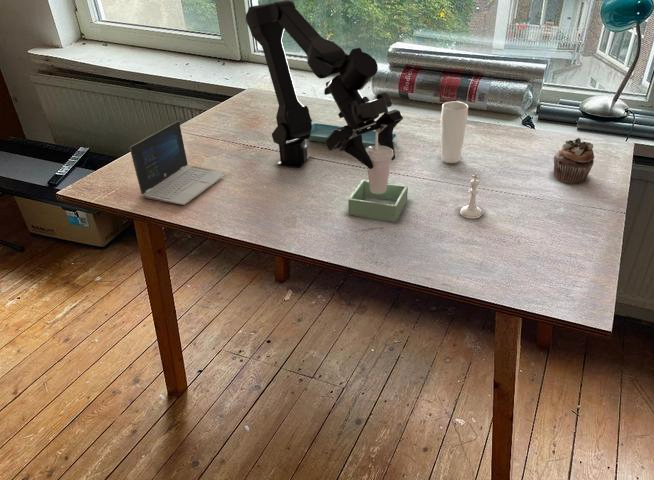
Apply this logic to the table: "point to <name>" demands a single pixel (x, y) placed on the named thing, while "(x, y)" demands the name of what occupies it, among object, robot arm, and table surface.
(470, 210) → the chess piece
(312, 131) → the shallow long dish
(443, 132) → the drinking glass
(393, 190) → the green open tray
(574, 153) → the cupcake
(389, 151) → the smoothie
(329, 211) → the table surface
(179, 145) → the laptop
